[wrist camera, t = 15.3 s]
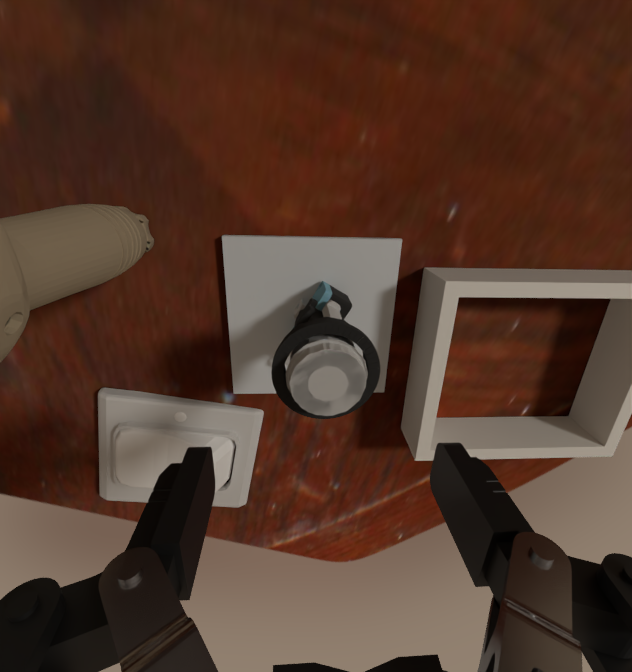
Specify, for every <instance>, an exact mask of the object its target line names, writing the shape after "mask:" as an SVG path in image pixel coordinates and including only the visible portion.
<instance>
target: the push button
mask: <svg viewBox="0 0 632 672" xmlns="http://www.w3.org/2000/svg"><path fill="white" fill-rule="evenodd" d="M351 308H352V303H351V301H350V299H349V297H348V295H346V294H344V293H342V292H341V291H339V290H337V289H336V288H334V287H332V286H331V285H329V284H327V283H326V282H324V281H322V282H321V283H320V285H319V286H318V289H317V290H316V292H315V294H314V295H313V297H312V298H311V299H310V300H309V302H308V303H307V305H306V306H305V305H303V300H302V299H301V300H300V301H299V303H298V304H297V306H296V308H295V309H294V318H295V319H296V321H295V325H294V327H293V329H292V330H291V331H290V332H289V333H288V334H287V335H286V336H285V337H284V339H283V341H282V342H281V343H280V345H279V346H278V348H277V350H276V352H275V355H274V358H273V362H272V371H271V374H272V382H273V386H274V388H275V391H276V393H277V394H278V396H279V398H280V399H281V400H282V401H283V402H284V403H285V404H286V405H287V406H288V407H289V408H290V409H292V410H293V411H295V412H297V413H299V414H301V415H304V416H307V417H311V418H318V419H330V418H336V417H340V416H343V415H346V414H349V413H351V412H353V411H354V410H356V409H358V408H359V407H360V406H362V405H363V404H364V403H365V402H366V401H367V400H368V399H369V398H370V397H371V395H372V394H373V392H374V390H375V389H376V387H377V384H378V381H379V377H380V360H379V356H378V353H377V351H376V349H375V347H374V345H373V343H372V342H371V340H370V339H369V338H368V337H367V336H366V335H365V334H364V333H363V332H362V331H361V330H359V329H358V328H356V327H354V326H352V325H350V324H349V323H347V322H346V321H345V320H344V319H345V317H346V316H347V314H348V313H349V311H350V310H351ZM353 342H354V343H356V344H357V345H358V346H359V347H360V348H361V350H362V351H363V357H362V356H361V354H360V353H359V352H358V351H357V349H356V348H355V346H354V344H353ZM285 364H286V365H288V367H287V370H286V368H285Z"/></svg>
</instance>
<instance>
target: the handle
mask: <svg viewBox="0 0 632 672" xmlns="http://www.w3.org/2000/svg"><path fill="white" fill-rule="evenodd" d="M148 222H149V221H148V219H147V218H146V217H145V216H144V215H138V214H134V213H132V212H131V211H129V209H128V208H126V207H121V206H108V205H97V204H80V205H70V206H62V207H57V208H52V209H47V210H42V211H37V212H32V213H27V214H22V215H17V216H12V217H6V218H1V219H0V362H1V361H2V360H3V359H4V358H5V357H6V356H7V355H8V354H9V352H10V351H11V349H12V348H13V347H14V345H15V344H16V342H17V341H18V339H19V337H20V335H21V334H22V332H23V330H24V329H25V326H26V323H27V320H28V318H29V312H30V310H33V309H35V308H38V307H40V306H43V305H45V304H48V303H51V302H53V301H56V300H58V299H61V298H64V297H66V296H69V295H72V294H75V293H77V292H80V291H83V290H86V289H88V288H91V287H94V286H97V285H99V284H102V283H104V282H106V281H108V280H110V279H112V278H114V277H116V276H118V275H120V274H121V273H123V272H124V271H126V270H127V269H129V268H130V267H131V266H133V265H134V264H135V263H136V262H137V261H138V260H139V259H140V258H141V257H142V256H143V254H144V253H145V252H148V251H149V250H150V249H151V248H152V247H153V244H154V239H153V238H152V236H151V234H150V232H149V228H148Z"/></svg>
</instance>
